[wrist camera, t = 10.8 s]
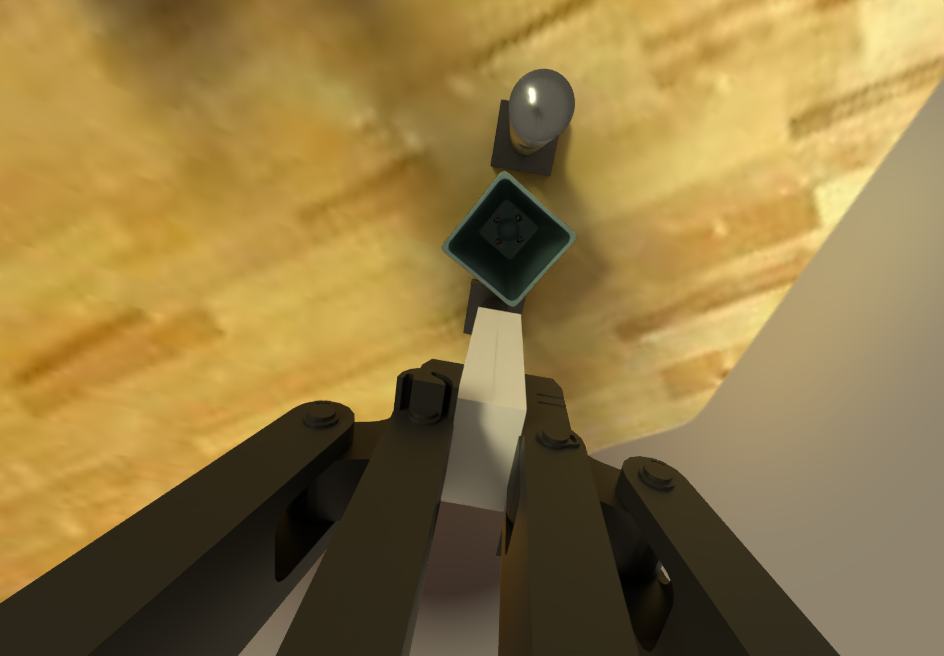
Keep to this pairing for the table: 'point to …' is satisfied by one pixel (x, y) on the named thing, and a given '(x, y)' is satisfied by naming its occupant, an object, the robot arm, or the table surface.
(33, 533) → the table surface
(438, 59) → the table surface
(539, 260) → the flower pot
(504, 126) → the post
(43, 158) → the table surface
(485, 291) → the post
